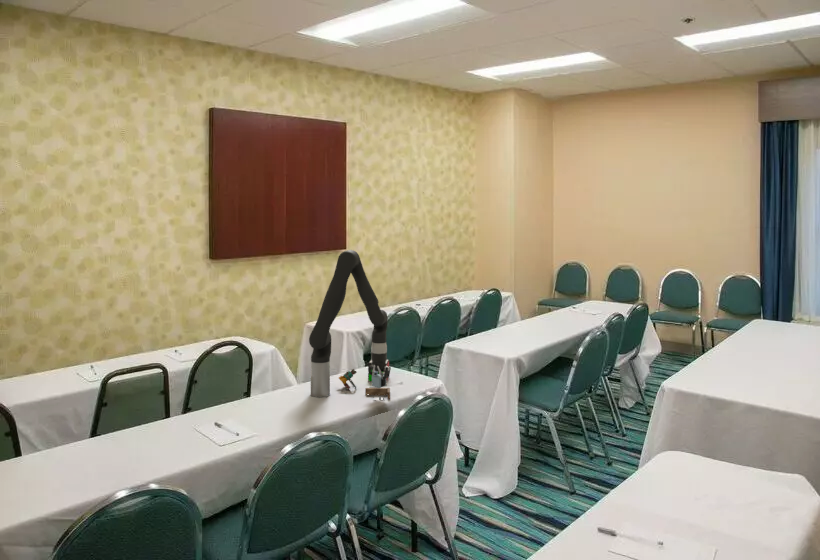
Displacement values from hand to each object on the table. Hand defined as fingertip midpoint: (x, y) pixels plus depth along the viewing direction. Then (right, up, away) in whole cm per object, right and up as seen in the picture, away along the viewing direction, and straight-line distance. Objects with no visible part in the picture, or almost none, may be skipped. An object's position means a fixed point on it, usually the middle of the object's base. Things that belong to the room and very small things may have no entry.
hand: (379, 384), depth 313 cm
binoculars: (-17, -5, +17) cm, 25 cm away
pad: (0, -7, +1) cm, 7 cm away
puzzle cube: (-2, -3, +35) cm, 35 cm away
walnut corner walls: (-1, -7, +4) cm, 8 cm away
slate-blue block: (0, -1, 0) cm, 0 cm away
